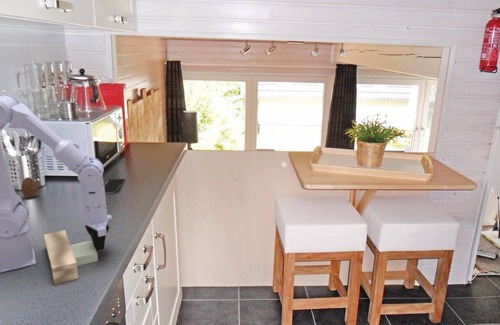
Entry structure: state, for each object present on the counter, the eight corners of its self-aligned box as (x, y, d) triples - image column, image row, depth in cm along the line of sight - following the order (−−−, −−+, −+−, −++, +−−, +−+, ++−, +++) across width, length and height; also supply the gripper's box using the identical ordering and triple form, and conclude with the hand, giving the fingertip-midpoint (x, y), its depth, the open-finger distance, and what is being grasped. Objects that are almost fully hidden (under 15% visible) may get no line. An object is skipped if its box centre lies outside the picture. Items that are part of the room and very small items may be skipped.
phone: (96, 192, 153) (107, 179, 167) (96, 194, 153) (107, 181, 167) (117, 192, 153) (126, 178, 168) (117, 194, 154) (126, 181, 168)
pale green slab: (70, 268, 104) (69, 259, 103) (65, 254, 110) (64, 246, 110) (98, 261, 107) (97, 252, 107) (92, 248, 114) (91, 240, 113)
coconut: (19, 198, 147) (16, 178, 145) (32, 194, 151) (29, 174, 149) (29, 201, 145) (26, 180, 143) (41, 196, 149) (38, 176, 147)
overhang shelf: (54, 284, 97) (52, 268, 95) (46, 248, 113) (43, 234, 112) (78, 278, 100) (76, 262, 98) (66, 244, 116) (65, 230, 114)
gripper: (116, 210, 103) (120, 256, 107) (104, 192, 115) (108, 234, 119) (87, 216, 99) (93, 263, 103) (78, 196, 111) (83, 240, 115)
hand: (99, 248), depth 111 cm, fingers closed, pressing on pale green slab
